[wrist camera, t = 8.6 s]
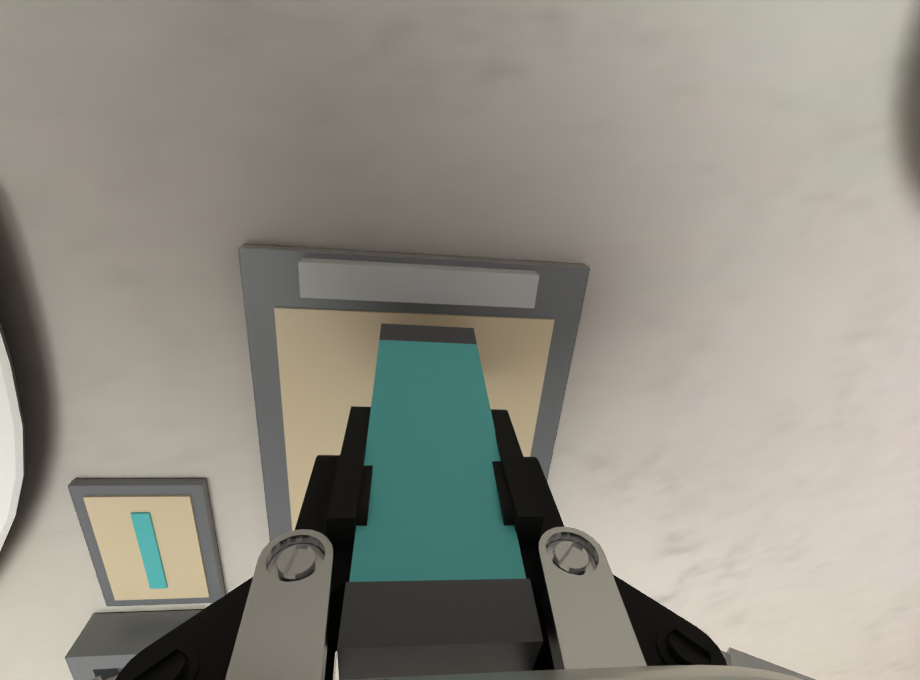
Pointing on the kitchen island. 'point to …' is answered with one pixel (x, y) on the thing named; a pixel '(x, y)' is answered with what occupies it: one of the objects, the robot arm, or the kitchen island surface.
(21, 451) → the plate
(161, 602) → the card
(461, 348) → the marker
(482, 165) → the kitchen island surface
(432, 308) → the board
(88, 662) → the button base
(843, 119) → the kitchen island surface
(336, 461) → the robot arm
